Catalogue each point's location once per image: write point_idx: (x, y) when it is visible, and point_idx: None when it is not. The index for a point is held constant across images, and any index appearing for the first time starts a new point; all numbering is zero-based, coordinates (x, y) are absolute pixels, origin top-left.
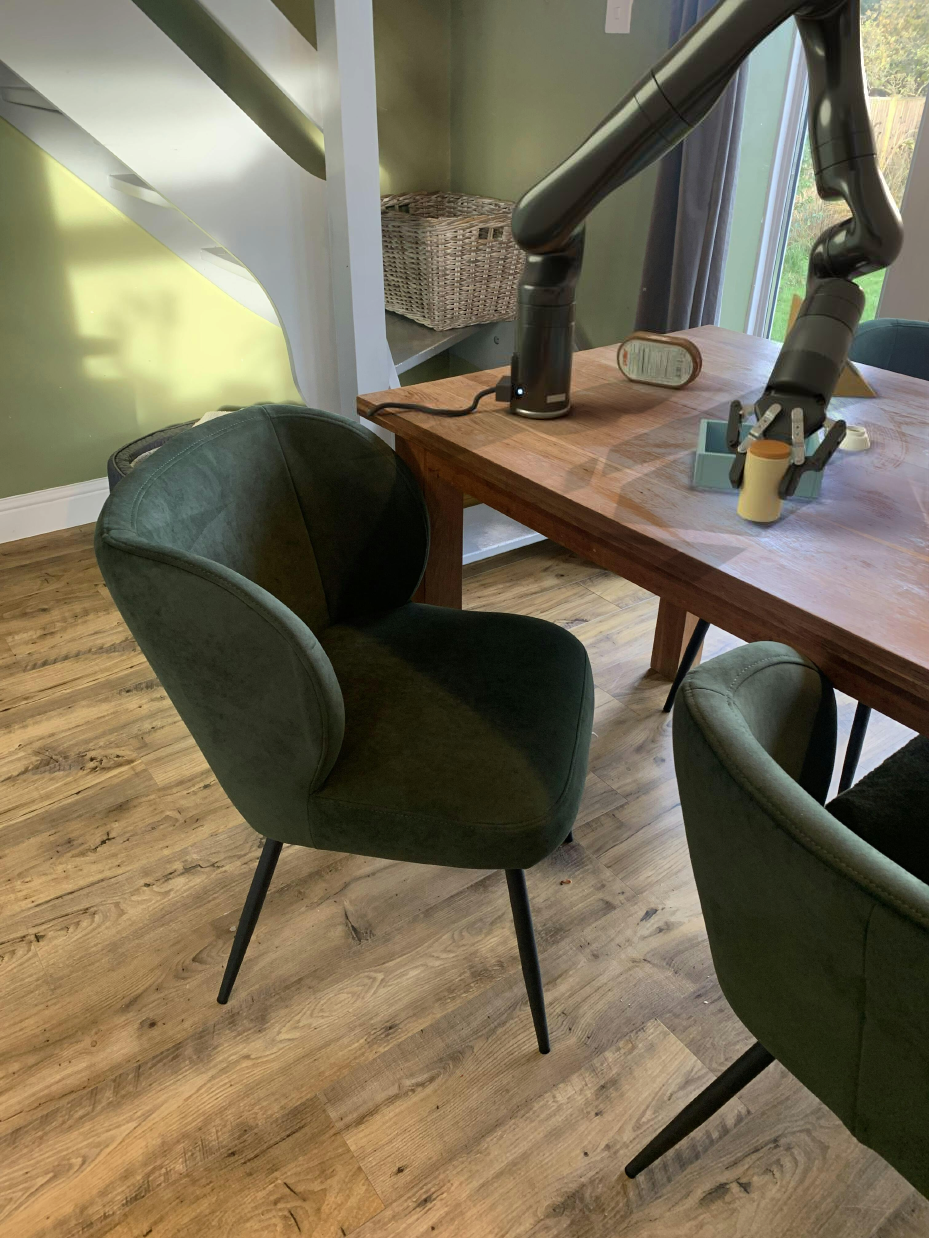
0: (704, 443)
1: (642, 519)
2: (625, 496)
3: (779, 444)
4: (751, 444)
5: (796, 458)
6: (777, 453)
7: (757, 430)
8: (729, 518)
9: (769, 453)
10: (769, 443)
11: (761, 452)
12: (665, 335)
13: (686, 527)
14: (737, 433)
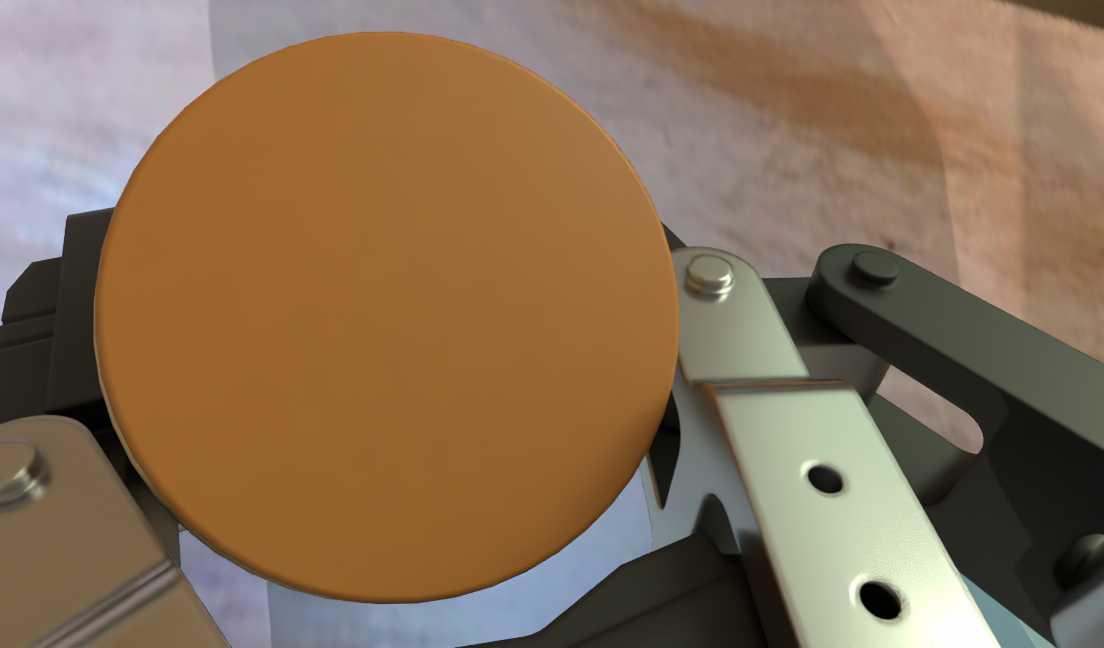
0: (1037, 640)
1: (726, 21)
2: (899, 165)
3: (390, 476)
4: (629, 177)
5: (47, 466)
6: (183, 118)
7: (790, 420)
8: None
9: (279, 51)
10: (509, 395)
11: (389, 32)
12: None
13: (564, 81)
14: (942, 490)
